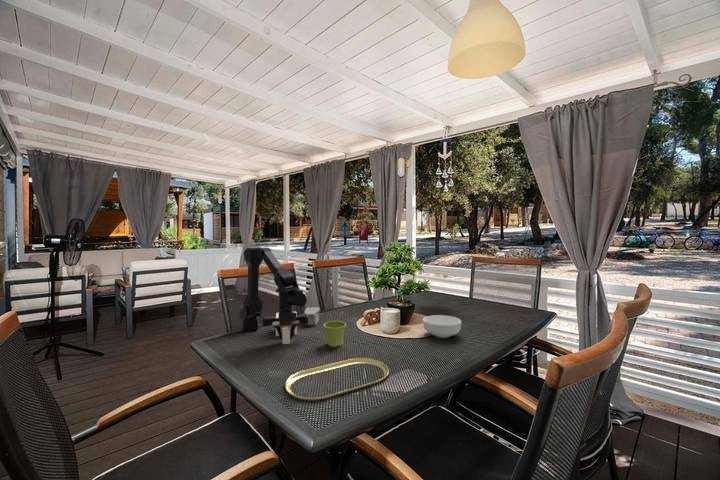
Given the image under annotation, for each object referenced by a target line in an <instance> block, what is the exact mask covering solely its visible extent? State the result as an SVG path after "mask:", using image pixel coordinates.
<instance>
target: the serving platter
mask: <svg viewBox="0 0 720 480" xmlns="http://www.w3.org/2000/svg"><path fill="white" fill-rule="evenodd" d="M353 364H369V365H372V366H376V367H379V368H380V369H381V370H382V372H383V376H384V377H383V376H382V377H381V379H378V380H374V381H371V382H369V383H365V384H362V385H359V386H355V387H352V388H347V389H345V390H342V391H338V392H335V393H331V394H328V395H325V396H318V397H307V396H306V397H305V396H301V395H296V394H294V392H292V389H291V387H292V385H293V383H294V382H295V381H296V380H299V379H300V378H302V377H305V376H308V375H313V374H316V373H321V372H325V371H329V370H333V369H337V368H342V367H345V366H349V365H353ZM389 372H390V369H389V367H388V365H386V364H385V363H383V362H382V361H380V360H377V359H373V358H367V357H360V358H359V357H357V358H350V359H346V360H345V359H344V360H342V361H341V360H340V361H337V362H333V363H329V364H325V365H321V366H316V367H313V368H308V369H304V370H299V371H298V372H296V373H294V374H292V375H290V376H289V378H287V380H286V381H285V383H284V384H285V385H284V387H285V391H286V392H287V393H288V394H289V395H290V396H291V397H293V398H296V399H298V400H304V401H320V400H321V401H322V400H325V399H329V398H332V397H336V396H339V395H343V394H346V393H349V392H352V391H356V390H358V389H362V388H366V387H369V386H371V385H374V384H378V383H380V382H382V381H384V380H385V379H386V378H387V377H388V375H389Z"/></svg>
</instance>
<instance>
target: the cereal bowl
mask: <svg viewBox="0 0 720 480" xmlns="http://www.w3.org/2000/svg"><path fill="white" fill-rule="evenodd" d="M422 324H423V328H424V330H425V331H426V332H427V333H429V334H431V335H433V336H434V337H436V338H440V339H446V338H450V337H451V336H455V335H457V334H458V333H459V332H460V331H461V328H462V320H461V319H460V318H458V317H454V316H452V315H451V316H450V315H444V314H436V315H429V316H425V317H423V319H422Z"/></svg>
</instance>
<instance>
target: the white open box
mask: <svg viewBox="0 0 720 480" xmlns="http://www.w3.org/2000/svg"><path fill="white" fill-rule="evenodd" d="M295 312H296V317H298V316H297V313H298V312H297V311H293V313H295ZM275 318H279V312H276V314H275ZM296 335H298V326H296V328H295V330H294V333H293V336H296ZM275 337H280V336H279V334H278V331H277V329H276V328H275Z"/></svg>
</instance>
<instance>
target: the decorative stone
mask: <svg viewBox="0 0 720 480" xmlns="http://www.w3.org/2000/svg"><path fill="white" fill-rule="evenodd" d="M320 311H321V307H309V306H308V307H306V308H305V309H304V313H303V314H307V315H308V323H306V324H305V325H306V326H307V325H308V327H315V326H316V325H317V324H318V323H319V322H320V319H319V318H320Z"/></svg>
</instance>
